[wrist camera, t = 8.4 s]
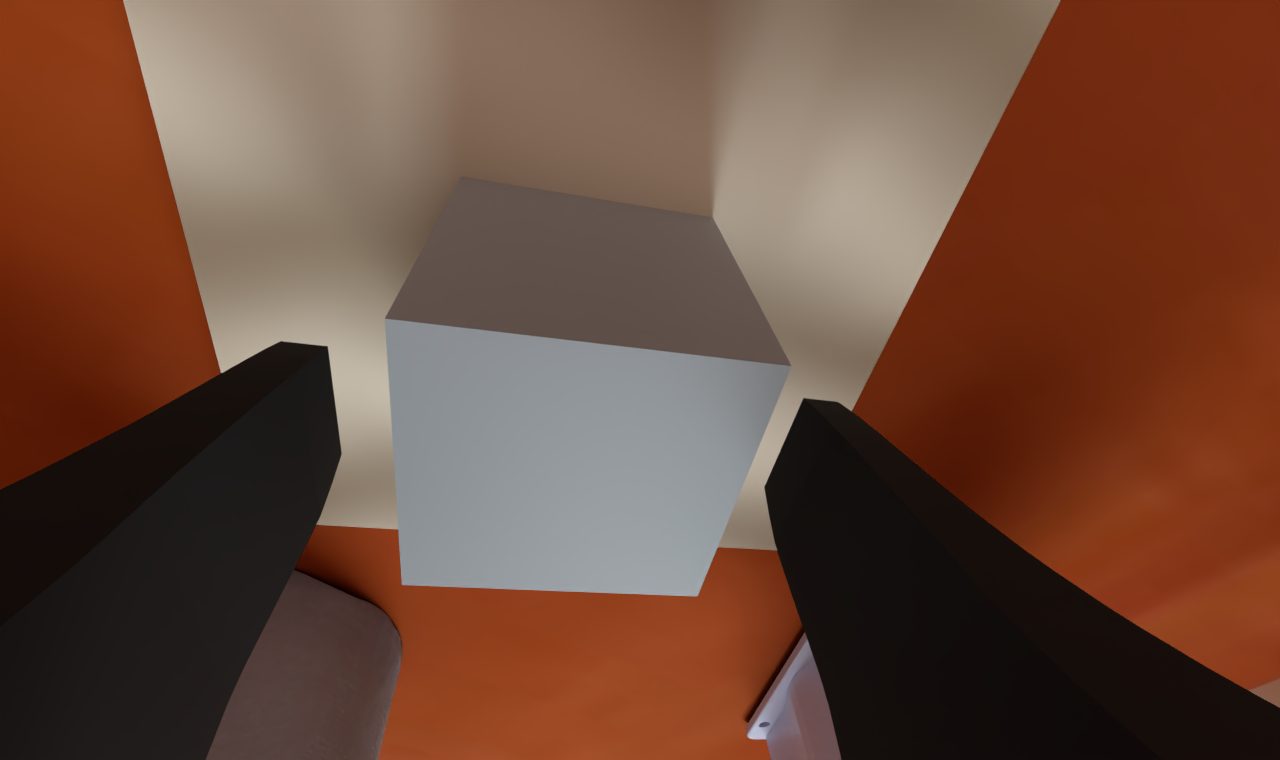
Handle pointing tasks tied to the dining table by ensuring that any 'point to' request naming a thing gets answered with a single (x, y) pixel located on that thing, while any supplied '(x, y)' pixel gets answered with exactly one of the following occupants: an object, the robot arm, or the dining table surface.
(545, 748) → the dining table surface
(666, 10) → the birch base
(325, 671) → the pillar candle
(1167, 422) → the dining table surface
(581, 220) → the grey block
